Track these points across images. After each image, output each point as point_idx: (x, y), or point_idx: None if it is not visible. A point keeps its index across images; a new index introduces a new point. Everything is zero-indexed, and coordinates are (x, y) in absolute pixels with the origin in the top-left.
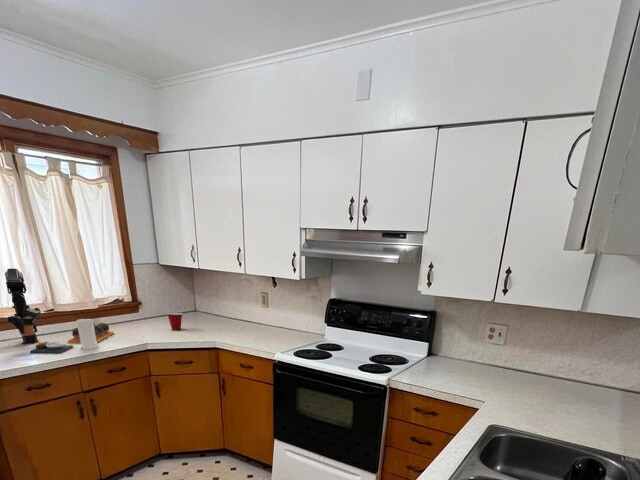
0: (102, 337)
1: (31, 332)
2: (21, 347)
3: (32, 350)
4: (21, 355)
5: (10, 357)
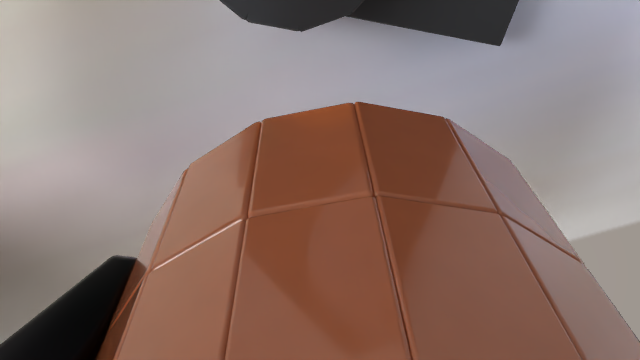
0: None
1: (500, 168)
2: (98, 259)
3: (480, 18)
4: (572, 117)
5: (630, 200)
